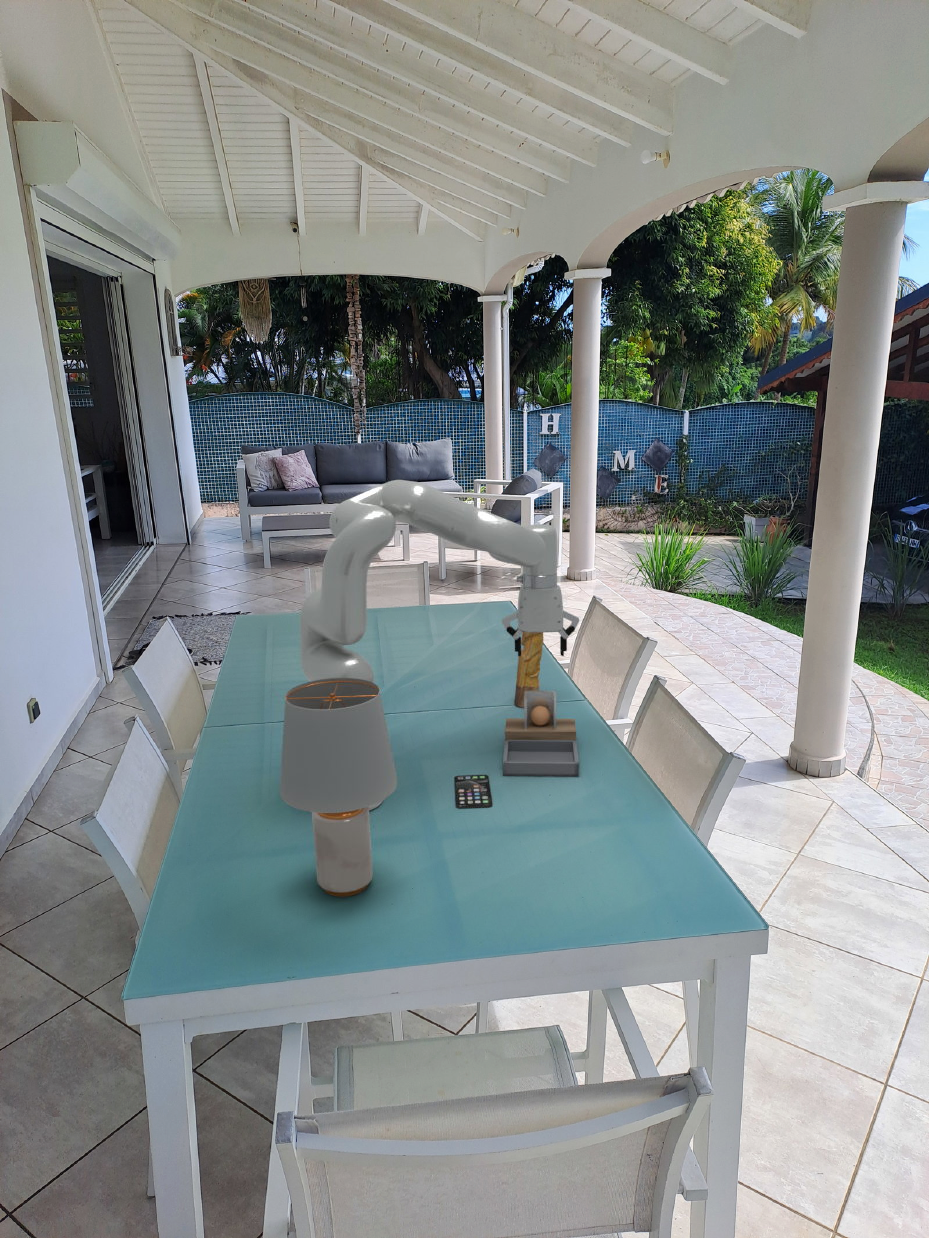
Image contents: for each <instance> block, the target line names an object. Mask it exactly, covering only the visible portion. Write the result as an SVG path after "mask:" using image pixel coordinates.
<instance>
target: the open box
mask: <svg viewBox="0 0 929 1238" xmlns="http://www.w3.org/2000/svg"><path fill="white" fill-rule="evenodd" d="M537 706H543V707H545V708H547V709H548V711H549V713H550V719H549V720H553V725H554V730H556V719H557V691H556V690H539V691H525V694H524V708H523V709H524V711H523V712H524V718H523V719H524V730H527V720H532V719H531V712H532V710H533V709H534V708H535V707H537Z"/></svg>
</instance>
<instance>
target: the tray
mask: <svg viewBox="0 0 929 1238" xmlns="http://www.w3.org/2000/svg"><path fill="white" fill-rule="evenodd" d="M503 748H504V749H503V758H502V759H503V760H502V761H503V762H502V776H503V777H563V778H564V777H566V778H567V777H571V778H573V777H574V778H575V777H576V778H577V777H580V775H579V774H580V761H579V755H578V744H577V739H576V740H505V739H504V747H503Z"/></svg>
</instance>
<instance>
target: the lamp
mask: <svg viewBox="0 0 929 1238" xmlns="http://www.w3.org/2000/svg"><path fill="white" fill-rule="evenodd" d="M385 715H386V714H385V711H384V705H383V701H382V696H381V689H380V687H379V686H378V685H377V684H376V683H375V682H374V683H372V682H370V681H366V680H362V679H356V678H329V679H321V680H315V681H311V682H310V681H308V682H304V683H301V684H299V685H296V686H294V687H292V688H291V689H290V690H288V691H287V692H286V694H285V695H284V716H283V730H282V731H283V732H282V744H281V764H280V765H281V766H280V767H281V768H280V780H279V781H280V783H279V794H280V798H281V799H282V801H283V802H285V803H286V804H287V805H288V806H290V807H292V808H294V809H297V810H300V811H303V812H304V811H305V812H310V813H311V820H312V821H311V822H312V830H313V845H314V857H315V869H316V870H315V871H316V882H317V884H318V885H319V887H321V888H322V890H323V892H325V893H326V894H328V895H330V896H334V897H338V898H343V897H344V898H345V897H351V896H356V895H358V894H360V893H361V892H364V891H365V890H366V888H367V887H368V885H369V884H370V882H371V881H372V880H373V879H372V878H373V875H374V874H373V859H372V856H373V855H372V841H371V840H372V839H371V827H370V826H371V825H370V823H371V822H370V811H369V806H371V805H374V804H376V803H378V802H380V801H382V800H383V801H384V800H386V799H387V798H388V797H390V796H391V795H392V794H393V793H394V792H395V790H396V788H397V786H398V778H397V772H396V768H395V767H396V766H395V761H394V756H393V751H392V746H391V741H390V735H389V731H388V725H387V720H386V716H385Z"/></svg>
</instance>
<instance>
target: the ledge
mask: <svg viewBox="0 0 929 1238" xmlns="http://www.w3.org/2000/svg"><path fill="white" fill-rule="evenodd" d="M505 740H576V741H577V728H576V719H575V718H556V730H554V725H553V720H549V721H548V722H547V723H546V724H544V725H536V724H535V723H534V722H533V721H532V720H527V730H524V718H512V717H511V718H505V727H504V741H505Z"/></svg>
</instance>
